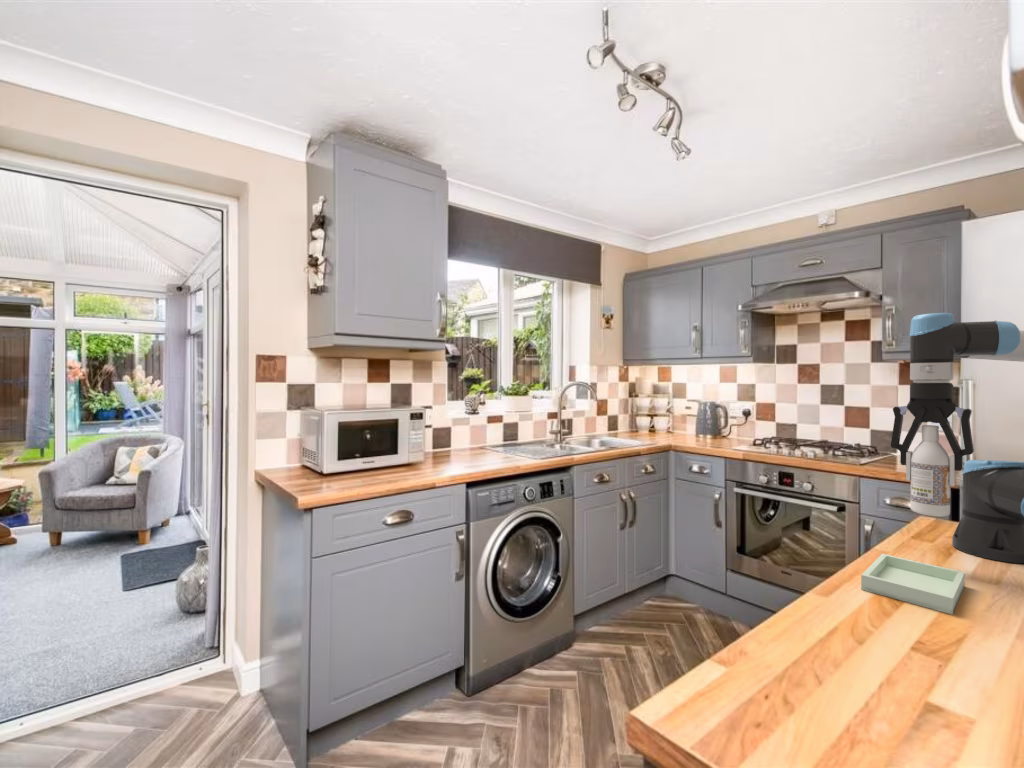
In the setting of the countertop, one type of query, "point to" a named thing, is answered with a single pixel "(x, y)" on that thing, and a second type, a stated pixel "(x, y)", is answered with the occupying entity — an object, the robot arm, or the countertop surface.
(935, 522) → the countertop surface
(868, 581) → the tray
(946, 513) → the bath foam
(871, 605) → the countertop surface
